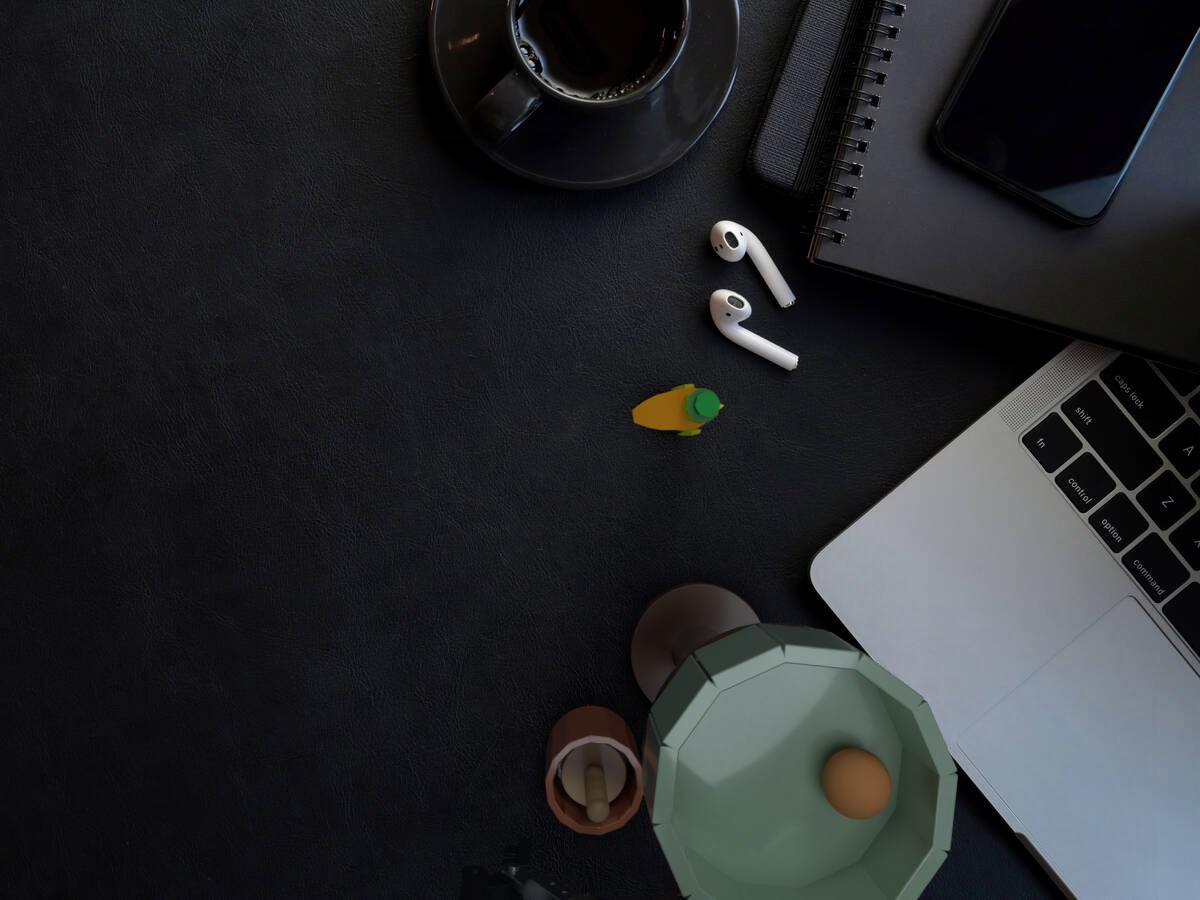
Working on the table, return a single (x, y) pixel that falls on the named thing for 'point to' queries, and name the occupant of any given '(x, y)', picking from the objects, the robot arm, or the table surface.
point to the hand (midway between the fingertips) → (604, 862)
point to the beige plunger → (594, 777)
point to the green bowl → (793, 772)
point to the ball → (856, 783)
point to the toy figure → (679, 410)
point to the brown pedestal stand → (683, 631)
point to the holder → (577, 732)
